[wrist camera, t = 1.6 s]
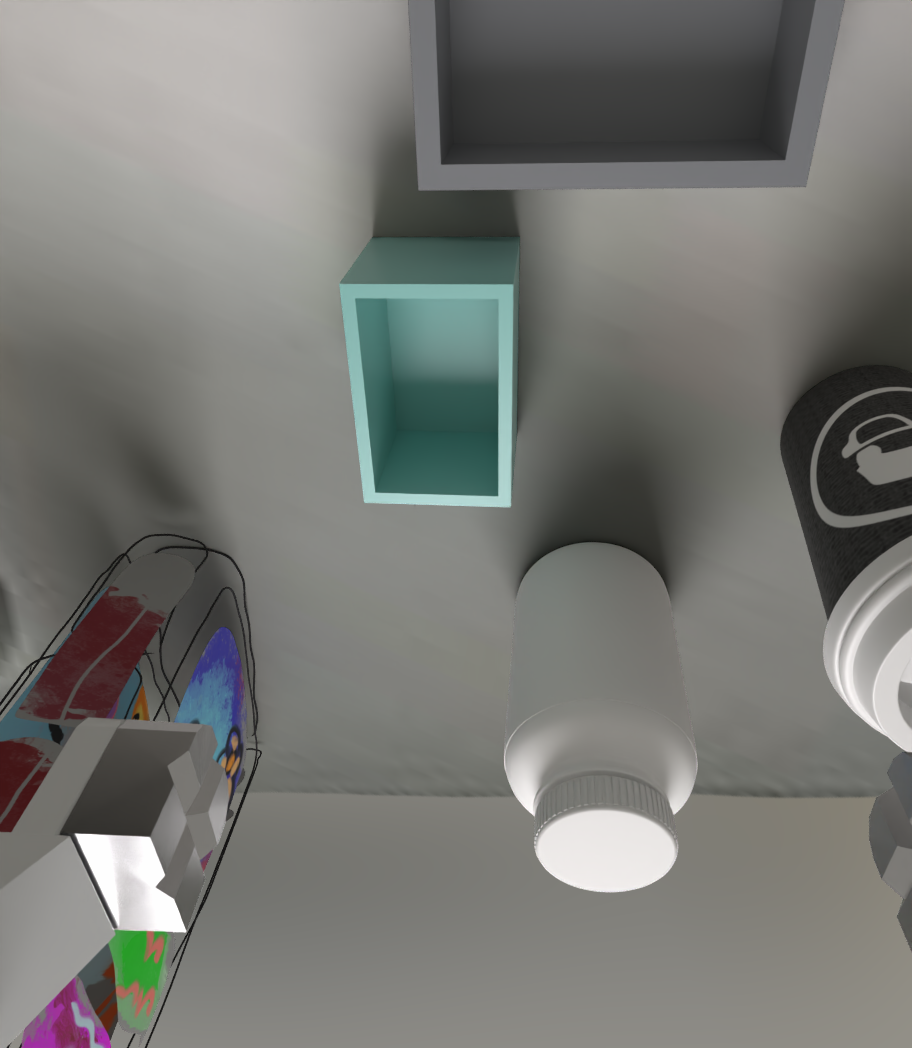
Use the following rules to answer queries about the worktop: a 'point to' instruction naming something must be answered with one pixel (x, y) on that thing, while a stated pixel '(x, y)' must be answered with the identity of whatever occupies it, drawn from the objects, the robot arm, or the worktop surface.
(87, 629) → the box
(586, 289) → the worktop surface
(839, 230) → the worktop surface
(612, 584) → the pill bottle
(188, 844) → the robot arm
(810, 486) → the coffee cup
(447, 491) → the small crate
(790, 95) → the large crate
